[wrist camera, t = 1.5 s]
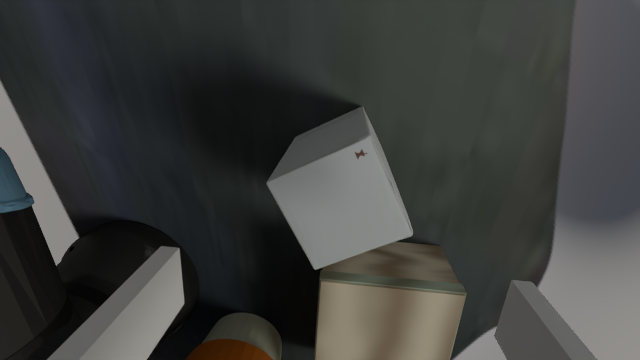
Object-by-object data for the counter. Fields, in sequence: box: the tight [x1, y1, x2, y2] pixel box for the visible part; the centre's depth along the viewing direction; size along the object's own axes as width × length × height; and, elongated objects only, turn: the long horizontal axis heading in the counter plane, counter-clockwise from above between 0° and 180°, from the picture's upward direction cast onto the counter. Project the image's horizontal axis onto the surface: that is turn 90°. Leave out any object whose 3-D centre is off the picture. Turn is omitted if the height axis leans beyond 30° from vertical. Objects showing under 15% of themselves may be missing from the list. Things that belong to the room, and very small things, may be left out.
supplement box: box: [266, 106, 413, 270], centre depth 27 cm, size 7×7×13 cm
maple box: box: [314, 242, 467, 360], centre depth 34 cm, size 12×16×8 cm
